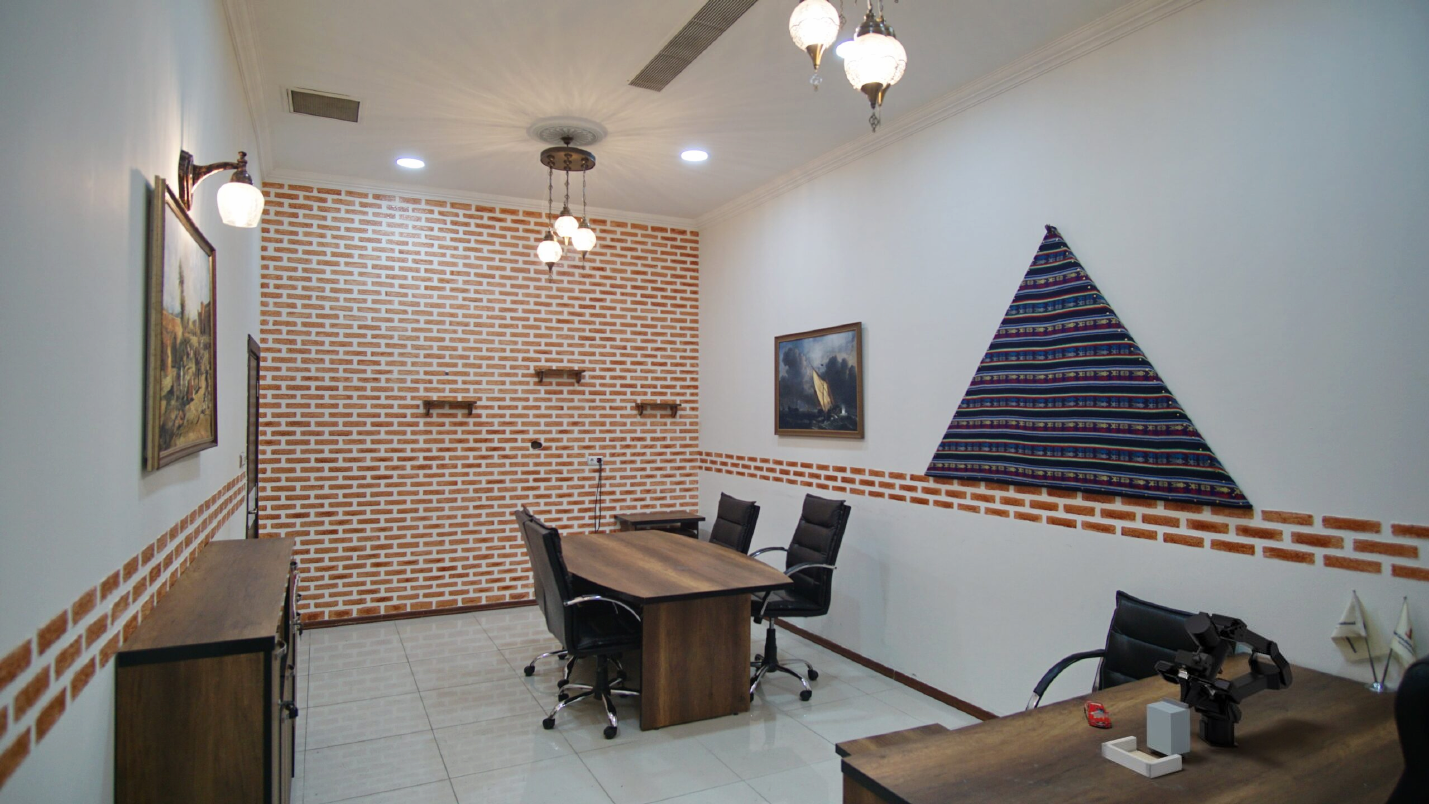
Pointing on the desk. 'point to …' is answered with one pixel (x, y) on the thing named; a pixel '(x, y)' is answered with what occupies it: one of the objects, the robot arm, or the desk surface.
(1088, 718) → the race car
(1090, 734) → the desk surface
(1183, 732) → the pale grey upright block
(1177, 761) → the bay
